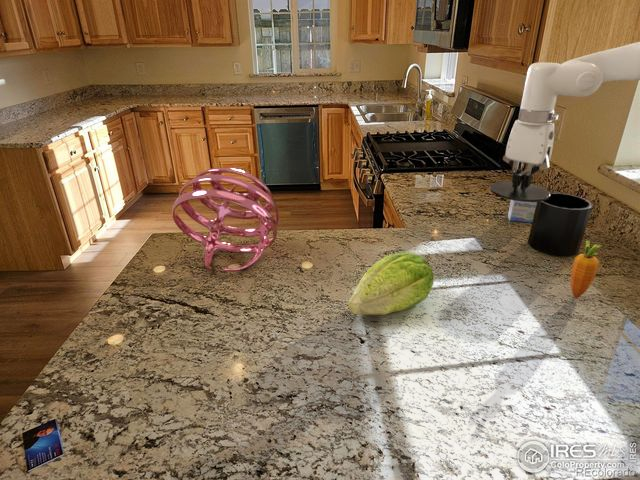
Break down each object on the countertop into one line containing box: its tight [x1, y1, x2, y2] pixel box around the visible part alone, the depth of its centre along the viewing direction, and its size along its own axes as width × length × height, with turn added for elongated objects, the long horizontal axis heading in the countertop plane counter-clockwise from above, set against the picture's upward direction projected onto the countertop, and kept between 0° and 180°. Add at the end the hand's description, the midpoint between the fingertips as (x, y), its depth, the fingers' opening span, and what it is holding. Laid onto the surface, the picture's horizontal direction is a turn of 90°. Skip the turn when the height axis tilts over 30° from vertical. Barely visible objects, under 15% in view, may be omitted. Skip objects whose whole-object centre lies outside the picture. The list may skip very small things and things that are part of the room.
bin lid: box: [489, 169, 551, 202], centre depth 113 cm, size 15×15×6 cm
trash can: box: [527, 192, 593, 258], centre depth 124 cm, size 14×14×14 cm
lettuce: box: [347, 252, 435, 316], centre depth 97 cm, size 13×22×14 cm
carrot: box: [570, 240, 602, 299], centre depth 99 cm, size 5×5×15 cm
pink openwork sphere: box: [171, 167, 280, 273], centre depth 114 cm, size 28×28×27 cm
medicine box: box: [507, 200, 537, 224], centre depth 143 cm, size 8×4×9 cm, turn 76°
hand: (520, 187), depth 113 cm, fingers closed on bin lid, 1 cm apart
